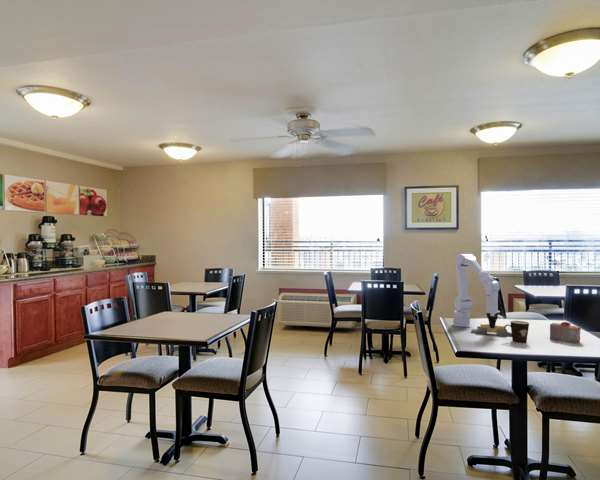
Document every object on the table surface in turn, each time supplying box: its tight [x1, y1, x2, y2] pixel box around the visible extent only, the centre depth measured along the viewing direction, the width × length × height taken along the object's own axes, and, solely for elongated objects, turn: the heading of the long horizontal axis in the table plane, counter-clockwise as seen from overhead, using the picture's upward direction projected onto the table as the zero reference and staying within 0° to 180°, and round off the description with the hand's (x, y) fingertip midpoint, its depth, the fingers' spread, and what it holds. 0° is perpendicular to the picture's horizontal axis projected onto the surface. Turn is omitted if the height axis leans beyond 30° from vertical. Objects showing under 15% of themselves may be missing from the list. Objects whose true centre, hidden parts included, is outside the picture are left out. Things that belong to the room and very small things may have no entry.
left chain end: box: [471, 326, 488, 336], centre depth 227 cm, size 8×6×3 cm
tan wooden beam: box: [480, 323, 505, 334], centre depth 225 cm, size 12×2×4 cm, turn 67°
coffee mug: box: [503, 320, 530, 344], centre depth 210 cm, size 12×9×10 cm
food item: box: [549, 321, 582, 344], centre depth 212 cm, size 14×8×10 cm, turn 43°
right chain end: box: [496, 328, 512, 337], centre depth 222 cm, size 8×6×3 cm
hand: (491, 326), depth 225 cm, fingers open, 7 cm apart
